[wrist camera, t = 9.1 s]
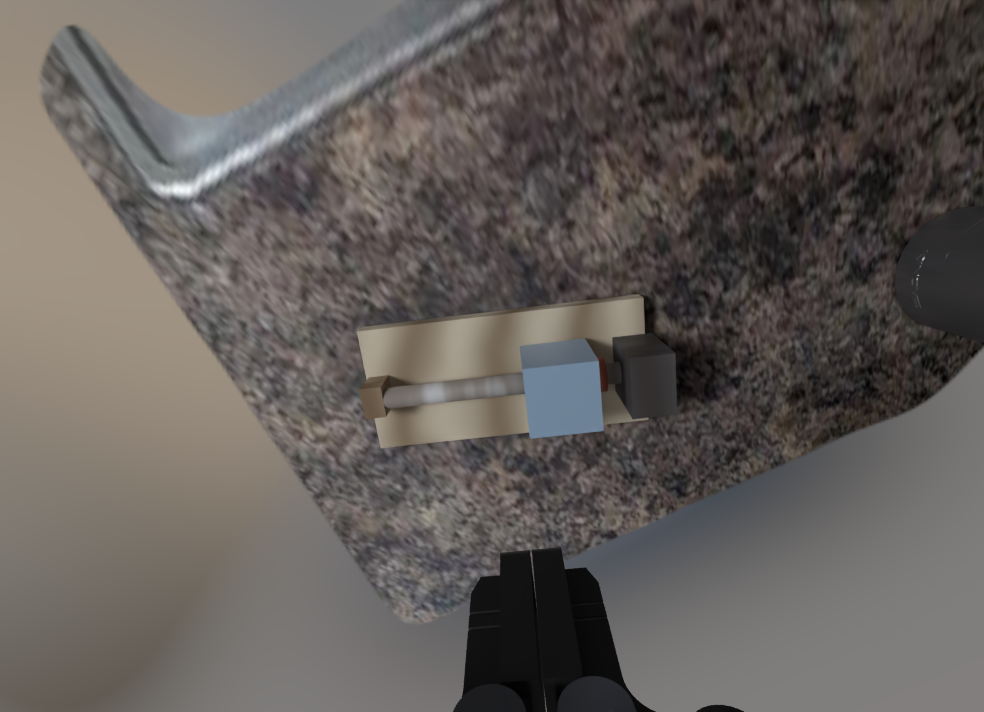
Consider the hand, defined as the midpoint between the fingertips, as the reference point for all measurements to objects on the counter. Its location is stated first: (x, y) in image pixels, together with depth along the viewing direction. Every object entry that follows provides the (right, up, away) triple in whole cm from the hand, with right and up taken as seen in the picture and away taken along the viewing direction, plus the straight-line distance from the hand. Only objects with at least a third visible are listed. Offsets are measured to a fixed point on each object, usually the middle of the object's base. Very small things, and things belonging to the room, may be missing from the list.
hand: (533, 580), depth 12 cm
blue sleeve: (+4, +4, +27) cm, 27 cm away
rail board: (0, +4, +29) cm, 29 cm away
